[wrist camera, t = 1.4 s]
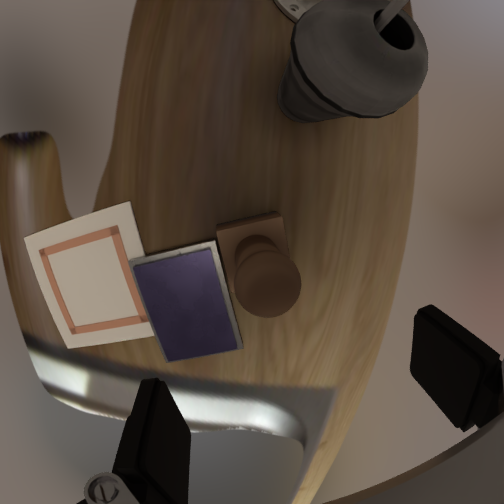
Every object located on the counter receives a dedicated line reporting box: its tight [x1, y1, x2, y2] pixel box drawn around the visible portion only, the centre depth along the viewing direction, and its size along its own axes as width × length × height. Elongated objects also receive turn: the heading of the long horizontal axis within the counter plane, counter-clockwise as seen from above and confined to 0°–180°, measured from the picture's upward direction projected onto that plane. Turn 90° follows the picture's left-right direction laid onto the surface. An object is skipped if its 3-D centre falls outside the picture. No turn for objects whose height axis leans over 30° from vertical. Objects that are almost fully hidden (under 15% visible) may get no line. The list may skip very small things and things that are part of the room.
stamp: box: [216, 211, 301, 318], centre depth 21 cm, size 5×5×11 cm
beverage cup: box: [277, 0, 428, 123], centre depth 14 cm, size 7×7×20 cm
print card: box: [24, 201, 155, 348], centre depth 25 cm, size 13×13×1 cm
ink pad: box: [128, 238, 244, 363], centre depth 26 cm, size 11×8×2 cm
